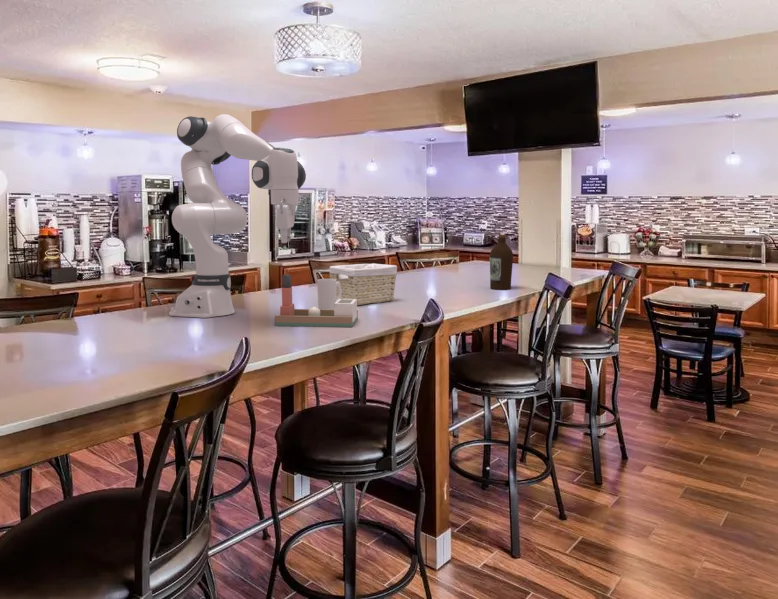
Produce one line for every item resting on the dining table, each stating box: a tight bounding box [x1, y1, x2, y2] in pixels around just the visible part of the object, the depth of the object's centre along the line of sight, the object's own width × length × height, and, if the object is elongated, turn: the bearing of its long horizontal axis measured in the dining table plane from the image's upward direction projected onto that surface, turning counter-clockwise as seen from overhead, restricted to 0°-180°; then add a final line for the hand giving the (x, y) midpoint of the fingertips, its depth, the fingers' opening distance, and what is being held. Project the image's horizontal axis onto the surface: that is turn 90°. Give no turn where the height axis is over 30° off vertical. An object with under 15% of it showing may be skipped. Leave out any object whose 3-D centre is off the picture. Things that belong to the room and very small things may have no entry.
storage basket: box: [329, 262, 398, 306], centre depth 250 cm, size 24×16×15 cm
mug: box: [316, 278, 342, 310], centre depth 225 cm, size 10×7×12 cm, turn 134°
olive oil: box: [489, 234, 514, 291], centre depth 289 cm, size 11×11×25 cm
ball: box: [308, 306, 320, 316], centre depth 206 cm, size 4×4×4 cm
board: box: [274, 299, 359, 328], centre depth 206 cm, size 25×14×7 cm, turn 85°
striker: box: [279, 274, 295, 316], centre depth 206 cm, size 3×7×14 cm, turn 175°
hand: (285, 242), depth 204 cm, fingers open, 8 cm apart
